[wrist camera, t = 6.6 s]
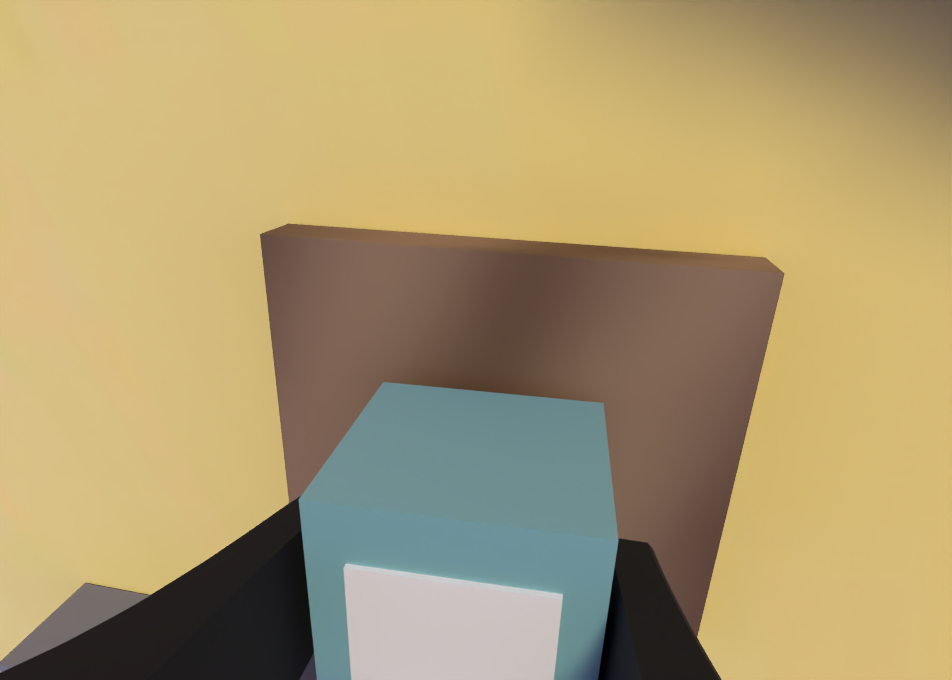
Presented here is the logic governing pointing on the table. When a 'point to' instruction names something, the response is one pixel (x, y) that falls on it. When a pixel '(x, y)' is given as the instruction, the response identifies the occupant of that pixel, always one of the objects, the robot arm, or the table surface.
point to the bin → (85, 623)
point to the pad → (535, 356)
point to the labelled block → (462, 539)
